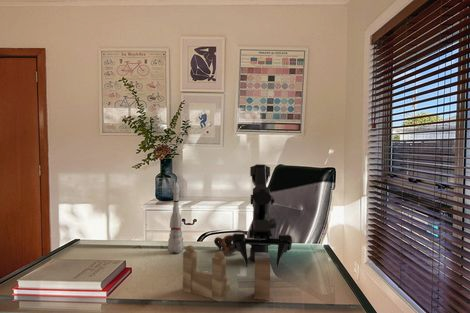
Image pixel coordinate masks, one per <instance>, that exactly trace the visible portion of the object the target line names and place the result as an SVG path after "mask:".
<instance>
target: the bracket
mask: <svg viewBox="0 0 470 313" xmlns="http://www.w3.org/2000/svg"><path fill="white" fill-rule="evenodd" d="M253 284H254V290H253V292H254V294H253V295H254V299H271V252H268V253H259V252H255V261H254V283H253Z"/></svg>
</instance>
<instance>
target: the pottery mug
mask: <svg viewBox="0 0 470 313" xmlns="http://www.w3.org/2000/svg"><path fill="white" fill-rule="evenodd" d="M232 237H233V234H226V235H225V236H223V238H222V237H219V236H218V237H215V238H214V240H213V243H214V245H215V246H216V247H217V248H218V250H219V251H221V250H224V252H223V254H224V256H229V254H232V253H233V254H234V253H235V252H238V251H237V249H233V243H232Z"/></svg>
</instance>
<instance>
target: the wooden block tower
mask: <svg viewBox="0 0 470 313" xmlns="http://www.w3.org/2000/svg"><path fill="white" fill-rule="evenodd" d="M197 257H198V252H197V250H195V247H194V245H187V246H186V247H185V251H183V252H182V291H184V292H186V293H192V294H196V295H200V296H203V297H205V298H206V297H207V298H210V299H211V300H214V301H215V302H216V301H217V302H222V301H224V300H225V299H226V298H227V292H229V291H230V290H231V276H228V275H227V257H225V254H224V252H223V251H221V250H219V251H216V252H215V253H214V257H212V258H211V274H210V273H209V271H207V270H203V271H198V270H197V266H198V264H197V263H198V261H197V260H198V258H197Z"/></svg>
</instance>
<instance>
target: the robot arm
mask: <svg viewBox="0 0 470 313" xmlns="http://www.w3.org/2000/svg"><path fill="white" fill-rule="evenodd" d="M249 168H250V171H249V174H250V175H249V176H250V177H251V182H252V184H253V186H254V187H253V188H252V194H250V205H252V209H253V210H252V216H253V217H252V223H251V226H250V227H251V228H250V229H249V232H248V233H249V236H248V237H246V233H241V232H239V233H237V232H236V233H233V234H232V235H233V237H232V244H233V249H237V251H236V252H239V253H240V254H241V257H242V259H243V262H244V264H245V267H246V268H248V266H249V262H248V259H250V260H252V261H254V262H255V252H259V253H269V246H277V255H276V269H278V268H279V266H280V263H281V259H282V257H283V255H284V254H285V253H287V252H289V251H291V249H292V244H293V237H292V236H291V235H290V234H281V233H280V234H278V238H273V233H272V230H277V218H275V217H274V218H270V217H271V214H270V213H271V207H272V206H271V205H273V204H275V198H274V197H273V194H271V190H270V188H269V187H267V184H268V182H269V178H270V177H271V167H270V166H268V164H267V165H266V164H265V163H264V164H260V163H259V164H258V163H257V164H255V165H253V166H250V167H249ZM247 245H249V246H250V248H249V249H250V250H249V256H248V252H247Z"/></svg>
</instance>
